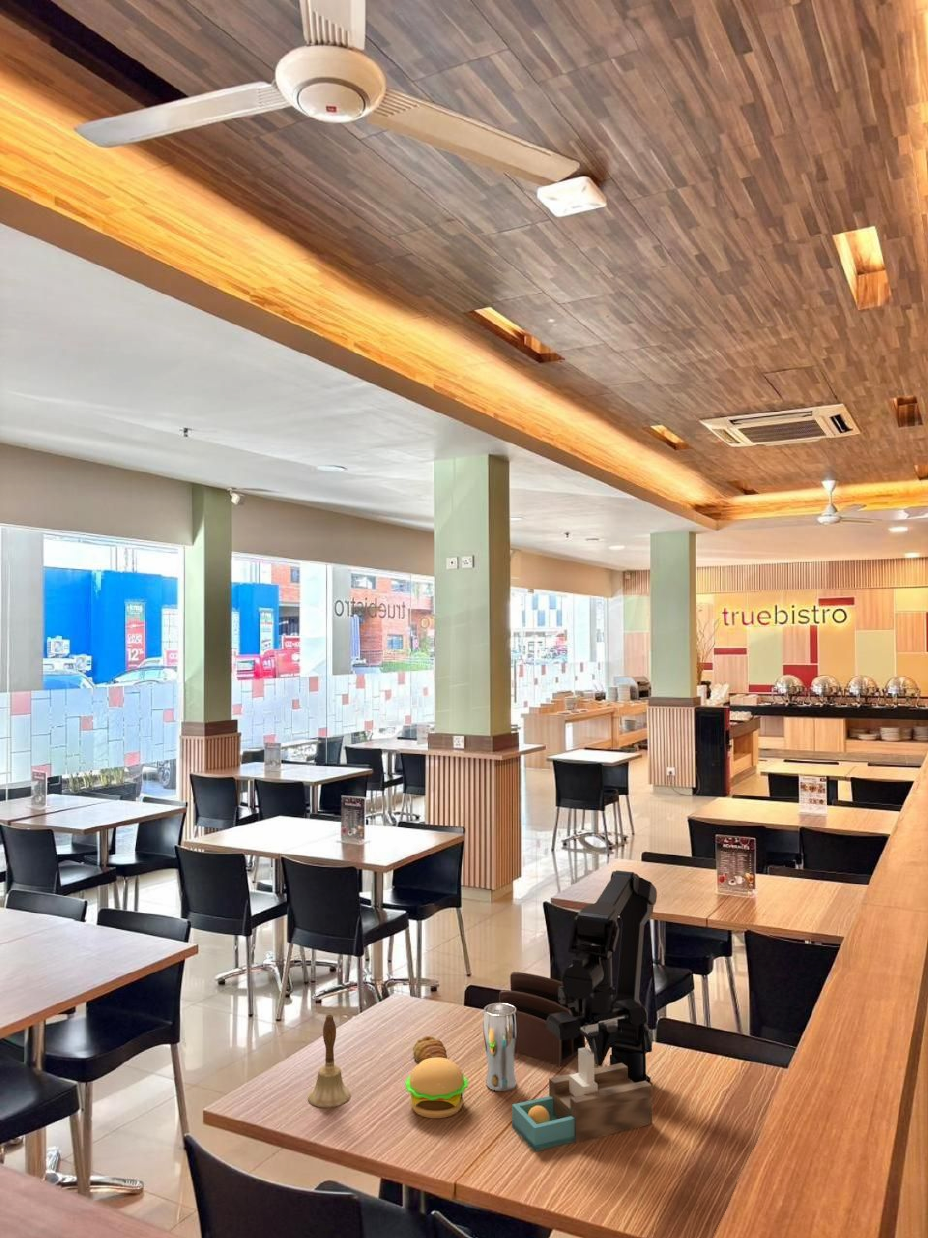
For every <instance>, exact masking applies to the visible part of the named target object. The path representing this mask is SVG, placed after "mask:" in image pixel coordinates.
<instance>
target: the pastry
mask: <svg viewBox="0 0 928 1238" xmlns="http://www.w3.org/2000/svg"><path fill="white" fill-rule="evenodd" d="M412 1051H413V1052H412V1053H413V1054H412V1055H413V1057H414V1059H415V1061H416V1062H417V1063H418V1064H419V1063H420V1062H422V1061H423V1060H425V1059H429V1058H446V1059H448V1055H447V1049H446V1047H445V1046H444V1043H443V1041H441V1040H440V1039H436V1038H435V1037H434V1036H430V1035H428V1036H423V1037H422V1038H420V1039H418V1040H417V1041H416V1042H415V1044H414V1046H413V1049H412Z"/></svg>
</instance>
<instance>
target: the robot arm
mask: <svg viewBox="0 0 928 1238" xmlns="http://www.w3.org/2000/svg"><path fill="white" fill-rule="evenodd" d="M657 895H658V893H657V888H656V886H654V884H653V883H652V882H651V881H649V880H647V879H644V878H643V877H640V875H639V874H638V873H635V872H633V871H625V870H613V871H612V872H611V875H610V880H609V882H608V883H607V884H606V886H605V888H604V889H603V891H602V892H601V894H600V895H599V897H598V899H597V900H596V902H594V903H591V904H588V905H585V906H584V907H583V908H582V909H581V910H580V911H578V914H577V915H576V916H575V917H574V921H573V925H572V930H571V935H570V939H569V944H568V949H567V953H570V954H575V956H574V957H573V958H572V960H571V961H572V964H571V965H570V966H568V968H566V969H565V970H564V973H563V975H562V978H561V982H563V986H562V987H558V998H559V1002H560V1004H568V1008H571V1007H575V1010H576V1011H577V1012H582V1015H581V1016H576V1017H573V1016H572V1015H571V1014H569V1013H568V1012H566V1011H564V1012H559V1013H554V1014H550V1015H549V1017H548V1019H547V1030H549V1031H550V1032H551V1033H553V1034H554V1035H555V1036H556V1037H558V1038H559V1039H560V1040H568V1039H573V1038H577V1037H578V1035H579V1034H580V1033H581V1034H583V1035H584V1036H585V1041H586V1042H587V1044H588V1047H589V1050H590V1051H591V1052H592V1053H594V1064H595V1065H596V1066H597V1067H603V1063H604V1061H605V1060H606V1058H607V1055H608V1053H609V1050H610V1049H611V1053H610V1055H609V1065H613V1064H618V1063H623V1064H624V1065H626V1066H627V1067H628V1078H629V1079H630V1080H632V1081H633V1082H634V1083H637V1082H641V1081H647V1082H648V1083H649V1082H650V1081H651V1077H650V1076H648V1074H647V1066H646V1065H647V1058H646V1055H647V1053H652V1052H653V1033H652V1032H651V1030H650V1028H649V1026H648V1021H649V1019H648V1014H649V1013H648V1011H647V1009H646V1007H645V1006H644V1005H642V1002H641V1001H640V989H641V988H640V987H641V975H642V960H643V959H642V958H643V947H644V946H643V945H644V933H645V932H644V931H645V925H646V923H647V922H648V920H650V918H651V916H652V915H653V913H654V906H655V905H656V903H657V898H658V897H657ZM619 918H620V921H621V928H620V927H619V924H618V921H617V920H618V919H619ZM620 929H621V930H620ZM619 934H620V942H619V943H620V944H619V952H618V953H619V955H618V956H619V957H618V967H617V968H618V969H617V982H616V987H614V986H613V966H612V965H613V964H612V963H613V962H612V961H613V960H612V959H613V958H612V954H613V953H615V951H616V948H617V947H616V946H617V943H618V940H619V939H618V938H619ZM578 942H580V943H578ZM613 996H615V997H613Z"/></svg>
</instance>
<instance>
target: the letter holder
mask: <svg viewBox="0 0 928 1238" xmlns="http://www.w3.org/2000/svg"><path fill="white" fill-rule="evenodd" d="M509 980H510V985H509V986H510V990H507V989H502V990H500V991H499V994H498V1003H507V1004H511V1005H513V1006H515V1007H516V1013H517V1024H518V1038H517V1047H516V1053H520V1054H522V1055H525V1056H529V1057H532V1058H534V1059H538V1060H540V1061H543V1062H547V1063H549V1062H550V1063H549V1064H552V1065H555V1066H558V1067H562V1066H564V1065H565V1064H568V1062H569V1061H570V1062H571V1061H572V1060H573V1059H575V1058H576V1057H578V1049H579V1048H584V1047H586V1038H585V1036H584V1035H583V1034H581V1033H580V1034H579V1035H578V1037H577V1038H573V1039H568V1040H560V1039H559V1038H558V1037H556V1036H555V1035H554V1034H553V1033H551V1032H550V1031H549V1030H547V1019H548V1017H549V1015H550V1014H554V1013H559V1012H564V1011H566V1012H568V1013H569V1014H571V1015H572V1016H573V1017H576V1016H581V1015H582V1012H577V1011H576V1010H575V1007H571V1008H568V1004H560V1002H559V998H558V987H562V986H563V982H562V980H561V981H560V980H557V979H554V978H550V977H547V976H542V975H538V974H533V973H527V972H519V971H512V972H511V973H510V976H509Z"/></svg>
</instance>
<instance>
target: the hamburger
mask: <svg viewBox="0 0 928 1238" xmlns="http://www.w3.org/2000/svg"><path fill="white" fill-rule="evenodd" d="M468 1086H469V1081H468V1078H466V1077H465V1075H464V1073H463V1072H462V1070H461V1068H460V1066H459V1065H458V1064H456V1062H454V1061H453V1060H451V1059H449V1058H447V1059H446V1058H429V1059H425V1060H423V1061H422V1062H420V1063H418V1064H417V1065H415V1067H414V1068H413V1069H412V1071H411V1073H410V1075H408V1077H407V1079H406V1082H405V1089H406V1091H407V1092H408V1093H410V1101H409V1102H410V1107H411V1108H412V1110H413V1111H414V1112H415V1113H416V1114H417V1115H419V1116H421V1117H423V1118H427V1119H444V1118H448V1117H452V1116H454V1115H455V1114H457V1113H458V1112H460V1110H461V1108H462V1106H463V1105H464V1097H463V1093H464V1091H465V1090H466V1089H467V1088H468Z"/></svg>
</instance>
